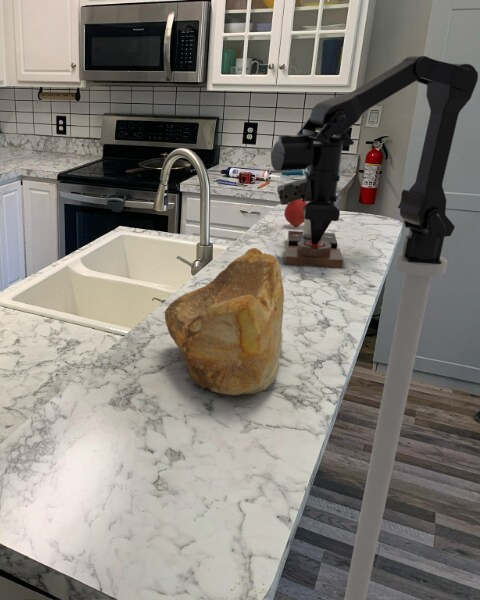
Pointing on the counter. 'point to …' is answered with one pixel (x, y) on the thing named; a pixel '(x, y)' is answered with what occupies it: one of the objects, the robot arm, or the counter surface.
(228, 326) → the rough brown rock
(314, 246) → the button
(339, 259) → the button block
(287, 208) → the onion
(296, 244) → the dial panel
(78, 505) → the counter surface
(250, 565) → the counter surface
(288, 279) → the counter surface
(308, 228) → the dial
